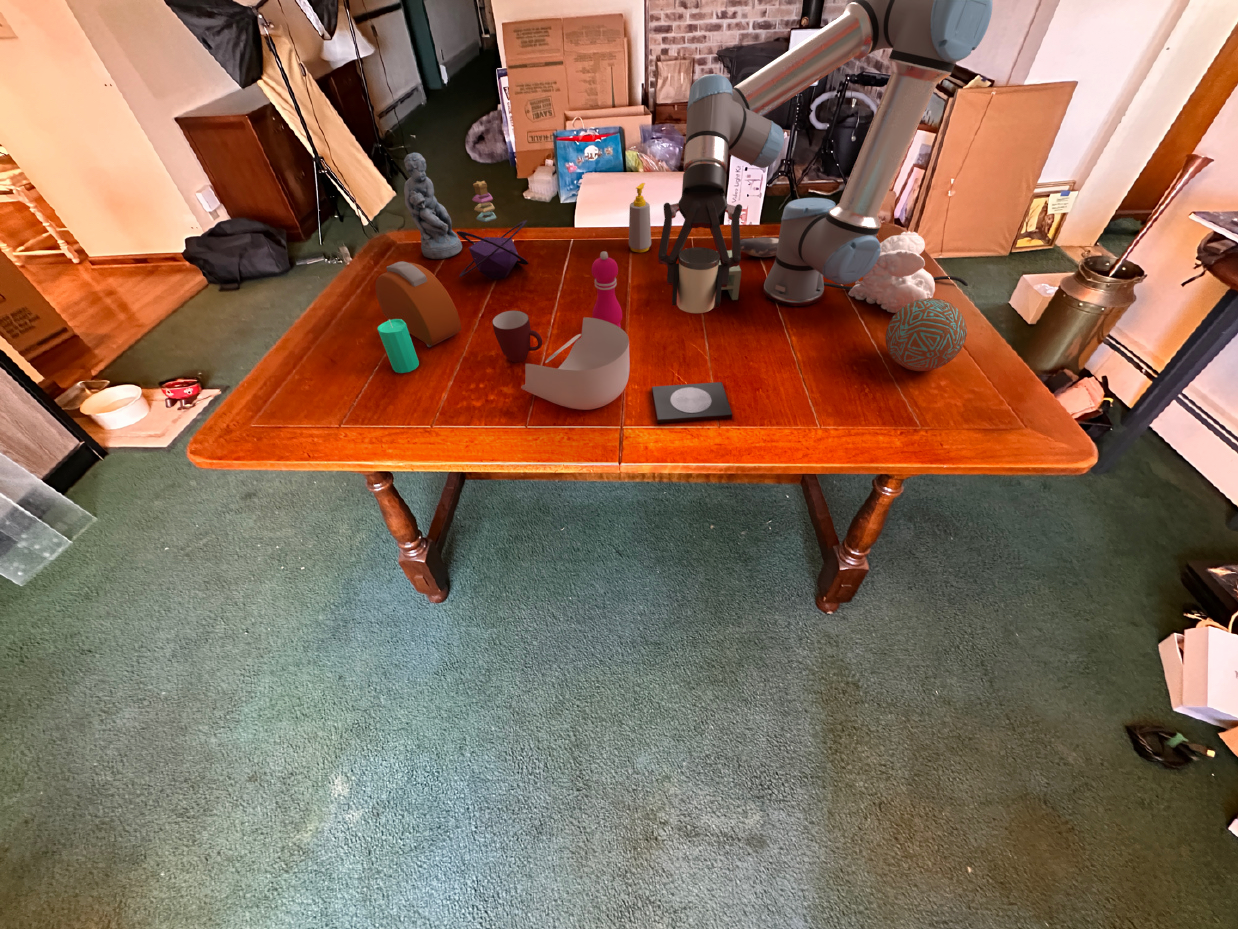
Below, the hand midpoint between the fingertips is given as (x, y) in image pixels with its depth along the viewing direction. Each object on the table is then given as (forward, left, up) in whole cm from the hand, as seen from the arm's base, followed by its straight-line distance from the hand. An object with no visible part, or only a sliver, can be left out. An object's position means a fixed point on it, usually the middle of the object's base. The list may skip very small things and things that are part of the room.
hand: (695, 303), depth 97 cm
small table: (-13, -50, -24) cm, 57 cm away
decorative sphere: (-51, -11, -24) cm, 58 cm away
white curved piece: (+21, -9, -24) cm, 34 cm away
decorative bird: (-36, -67, -24) cm, 80 cm away
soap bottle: (+3, -79, -24) cm, 83 cm away
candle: (+62, -23, -24) cm, 71 cm away
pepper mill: (+15, -33, -24) cm, 43 cm away
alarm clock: (+61, -39, -24) cm, 77 cm away
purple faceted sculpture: (+45, -67, -24) cm, 84 cm away
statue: (+65, -86, -24) cm, 111 cm away
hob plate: (-1, -2, -24) cm, 24 cm away
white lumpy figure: (-57, -38, -24) cm, 72 cm away
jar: (-1, -3, -2) cm, 4 cm away
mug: (+35, -23, -24) cm, 49 cm away
